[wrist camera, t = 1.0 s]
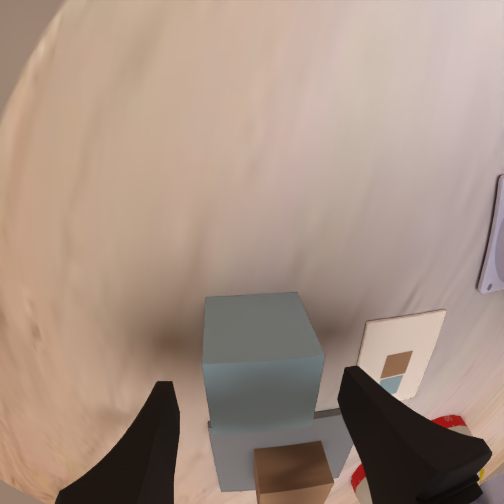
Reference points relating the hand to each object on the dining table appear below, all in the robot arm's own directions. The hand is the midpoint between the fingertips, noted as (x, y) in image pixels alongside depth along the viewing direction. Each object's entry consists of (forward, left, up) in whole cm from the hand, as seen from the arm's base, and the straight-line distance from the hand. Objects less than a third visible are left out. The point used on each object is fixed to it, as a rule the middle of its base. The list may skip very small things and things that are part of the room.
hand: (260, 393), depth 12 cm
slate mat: (-3, +13, -5) cm, 14 cm away
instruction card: (-10, +4, -4) cm, 11 cm away
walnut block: (-3, +13, -4) cm, 14 cm away
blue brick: (0, 0, -5) cm, 5 cm away
